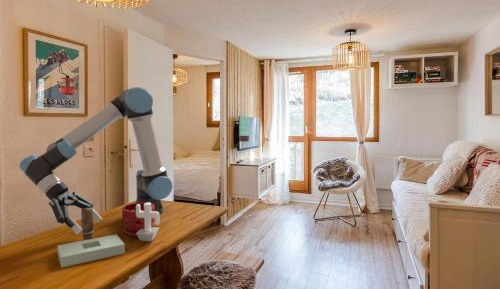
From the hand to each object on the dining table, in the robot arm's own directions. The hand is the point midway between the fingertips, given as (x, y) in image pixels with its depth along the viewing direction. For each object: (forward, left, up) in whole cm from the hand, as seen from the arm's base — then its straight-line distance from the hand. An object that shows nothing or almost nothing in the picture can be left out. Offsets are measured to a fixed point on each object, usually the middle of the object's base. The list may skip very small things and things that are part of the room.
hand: (90, 226), depth 125 cm
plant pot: (-19, +1, -6) cm, 20 cm away
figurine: (-20, +10, -6) cm, 23 cm away
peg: (+1, -1, -6) cm, 6 cm away
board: (+2, +13, -6) cm, 15 cm away
